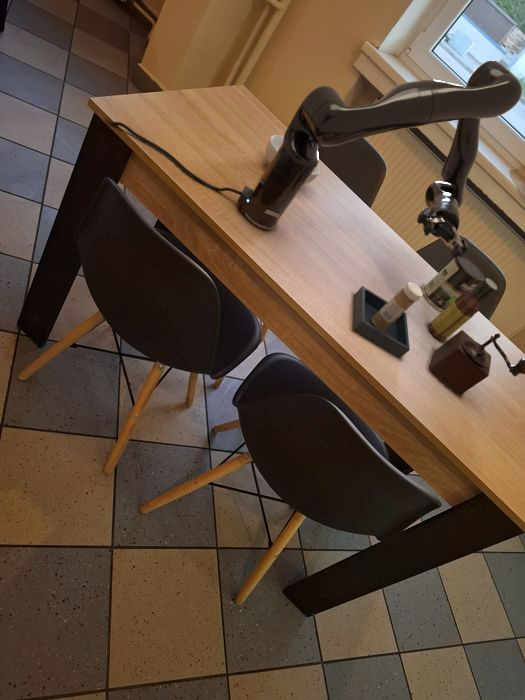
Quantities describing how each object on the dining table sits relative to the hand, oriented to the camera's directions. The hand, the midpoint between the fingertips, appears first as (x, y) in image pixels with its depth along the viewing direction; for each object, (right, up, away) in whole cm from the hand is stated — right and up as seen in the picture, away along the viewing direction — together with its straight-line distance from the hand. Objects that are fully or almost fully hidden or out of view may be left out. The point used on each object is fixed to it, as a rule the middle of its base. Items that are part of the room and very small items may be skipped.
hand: (442, 243), depth 116 cm
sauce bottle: (+5, -20, +21) cm, 29 cm away
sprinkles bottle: (-14, -19, +6) cm, 24 cm away
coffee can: (+10, -10, +33) cm, 36 cm away
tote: (-14, -19, +6) cm, 24 cm away
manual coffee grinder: (+6, -33, +10) cm, 35 cm away
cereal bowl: (-36, +27, +30) cm, 54 cm away
